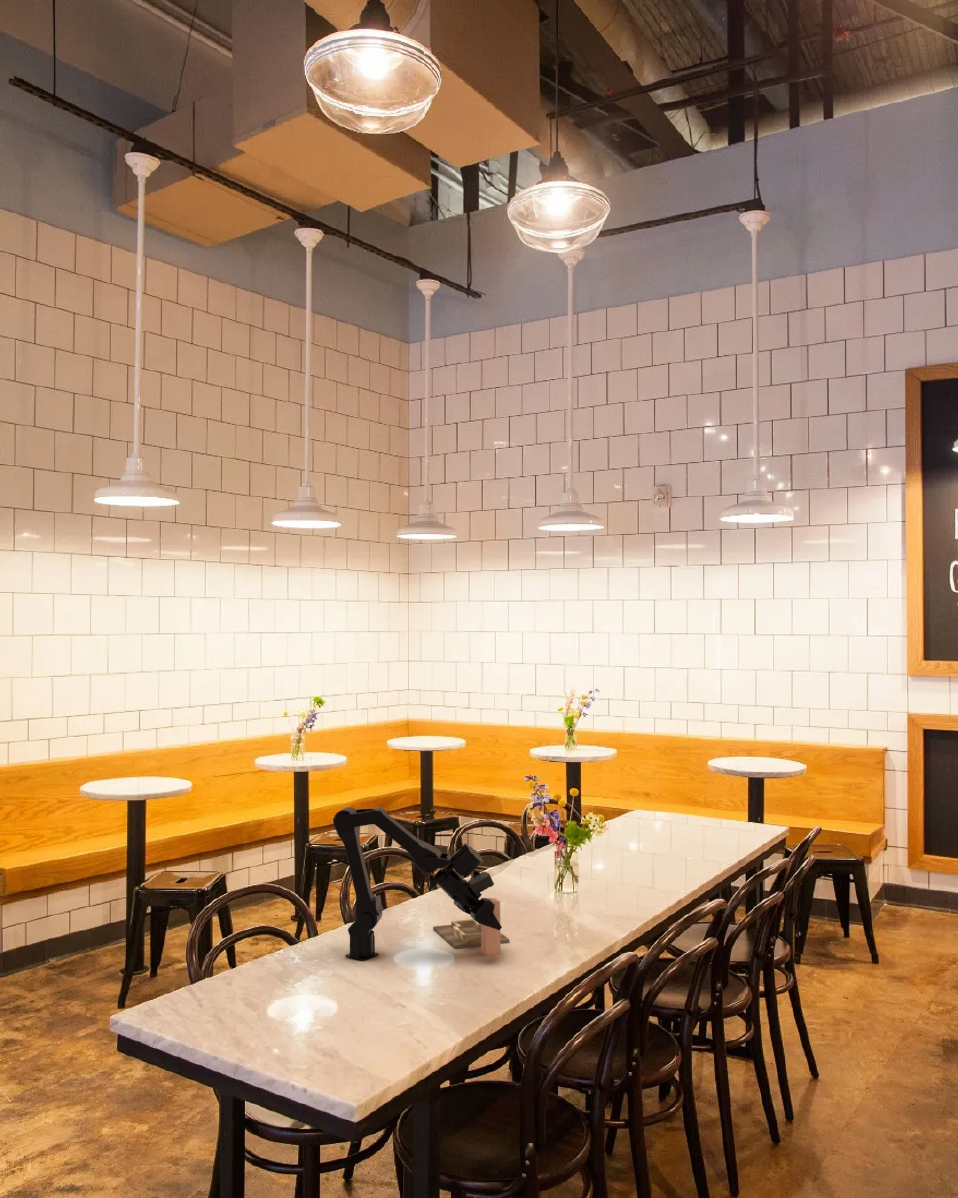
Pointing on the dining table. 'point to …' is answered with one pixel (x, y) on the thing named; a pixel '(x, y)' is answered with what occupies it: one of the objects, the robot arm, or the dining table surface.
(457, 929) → the square socket board
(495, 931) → the terracotta post
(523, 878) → the dining table surface
